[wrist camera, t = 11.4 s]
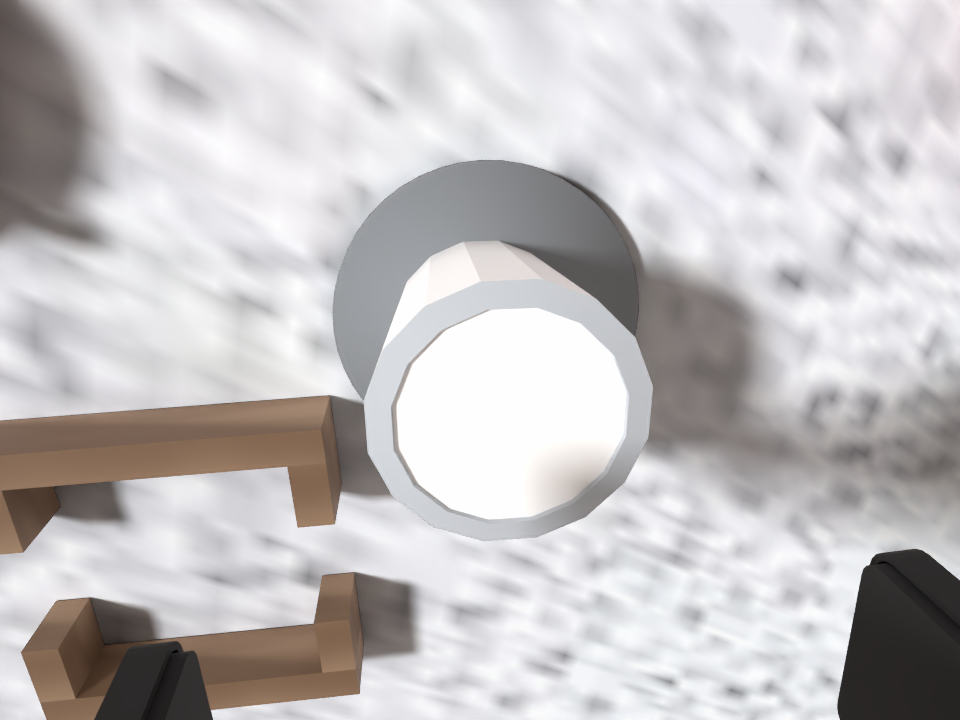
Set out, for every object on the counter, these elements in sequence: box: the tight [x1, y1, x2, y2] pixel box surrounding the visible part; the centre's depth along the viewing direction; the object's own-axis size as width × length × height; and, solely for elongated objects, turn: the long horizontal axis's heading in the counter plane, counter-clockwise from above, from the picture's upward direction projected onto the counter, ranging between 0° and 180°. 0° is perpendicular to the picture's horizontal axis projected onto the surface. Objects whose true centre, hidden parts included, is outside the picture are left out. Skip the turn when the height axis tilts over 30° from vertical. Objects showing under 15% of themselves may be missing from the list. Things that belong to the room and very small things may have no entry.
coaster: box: [333, 160, 639, 401], centre depth 23 cm, size 10×10×1 cm
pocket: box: [0, 395, 364, 720], centre depth 24 cm, size 11×11×2 cm
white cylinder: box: [364, 240, 653, 541], centre depth 19 cm, size 7×7×7 cm
